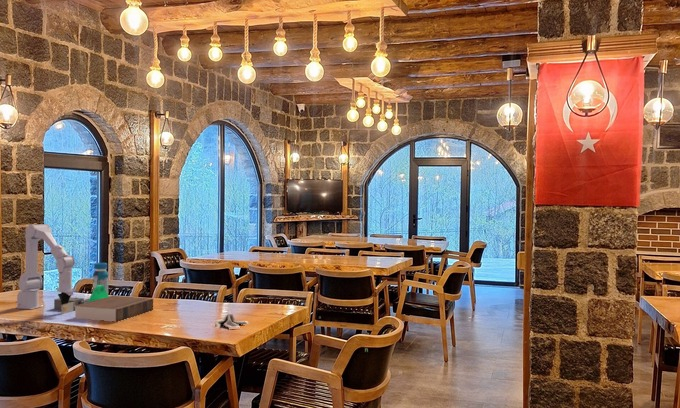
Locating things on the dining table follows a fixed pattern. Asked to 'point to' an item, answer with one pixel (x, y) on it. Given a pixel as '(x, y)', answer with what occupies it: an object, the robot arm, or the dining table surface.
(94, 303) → the book
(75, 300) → the camera body
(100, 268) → the beverage bottle
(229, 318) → the cloth
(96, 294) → the camera mount
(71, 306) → the side door
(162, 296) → the dining table surface
